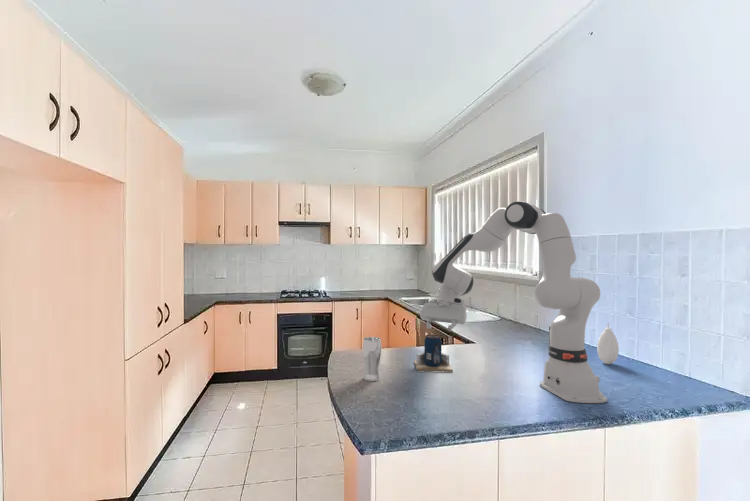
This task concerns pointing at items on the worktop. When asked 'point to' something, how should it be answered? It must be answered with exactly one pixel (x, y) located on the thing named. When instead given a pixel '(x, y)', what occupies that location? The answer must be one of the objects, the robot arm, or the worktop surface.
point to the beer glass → (371, 358)
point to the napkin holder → (443, 367)
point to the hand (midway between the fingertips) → (438, 329)
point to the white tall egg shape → (607, 346)
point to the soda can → (432, 351)
